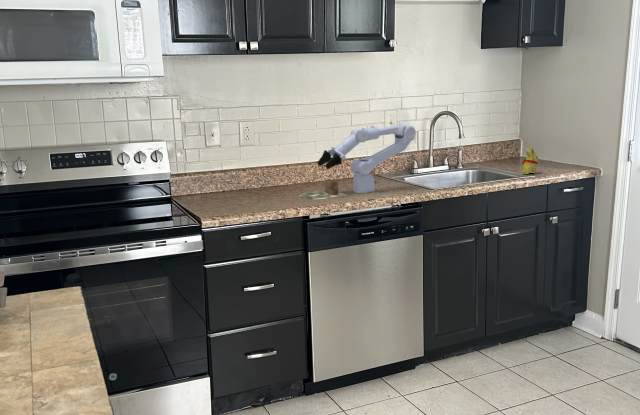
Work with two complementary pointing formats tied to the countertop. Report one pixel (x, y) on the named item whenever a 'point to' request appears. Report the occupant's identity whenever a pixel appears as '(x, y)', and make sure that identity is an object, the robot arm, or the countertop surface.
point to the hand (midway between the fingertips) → (322, 165)
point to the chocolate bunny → (530, 161)
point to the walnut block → (331, 187)
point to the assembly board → (319, 195)
